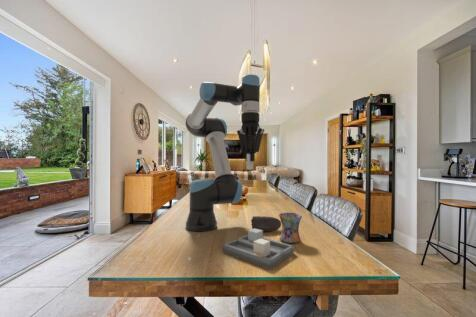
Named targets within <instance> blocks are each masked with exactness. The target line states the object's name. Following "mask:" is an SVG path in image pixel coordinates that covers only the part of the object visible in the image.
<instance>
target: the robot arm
mask: <svg viewBox="0 0 476 317" xmlns="http://www.w3.org/2000/svg"><path fill="white" fill-rule="evenodd" d="M260 82H261V81H260V77H259V76H258V75H256V74H244V75H243V76H242V78H241V82H240V83H241V84H240V85H239V86H238V85H237V86H236V85H230V84H223V83H216V82H212V81H209V82H208V81H203V82H201V84H200V86H199V87H200V88H199V100H198V101H197V103H196V104H195V107H194V108H193V110H192V112H191V113H189V114H188V115H187V116H186V119H185V127H186V130H187V131H188V133H189V134H192V135H193V136H195V137H198V138H204V139H205V142H207V143H208V144H209V150H210V154H211V159H212V164H213V168H214V174H215V178H210V177H209V178H201V179H195V180H193V181H191V182H190V185H189V191H188V192H189V212H188V215H187V219H186V221H185V229H186V230H188V231H191V232H206V231H207V232H208V231H213V230H215V229H216V228H217V227H218V221H217V219H216V214H215V211H214V208H215V206H214V205H225V204H235V203H238V202H240V201H241V198H242V196H243V183H242V182H241V180H239V179H237V178H236V175H235V174H233V172H232V169H231V166H230V161H229V157H228V156H229V155H228V153H227V149H226V146H225V139H226V136H227V134H228V125H227V122H226V121H225V120H224V119H222V118H218V117H215V118H213V117H209V115H210V113H211V112H212V111H213V110H214V107H215V106H216V105H217V104H218V103H228V104H231V105H232V106H235V107H236V106H237V107H238V106H241V116H240V117H241V119H240V120H241V126H240V127H241V128H240V129H239V130H237V131H236V133H237V135H238V138H239V145H240V150H241V153H244V154H245V158H244V159H245V160H244V161H245V162H246V170H254V162H255V160H256V159H255V157H256V156H255V154H256V153H259V151H260V148H261V143H262V138H263V134H264V133H265V129H264V128H262V127H260V96H261V95H260V90H261V88H260V87H261V85H260Z"/></svg>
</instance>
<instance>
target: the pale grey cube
mask: <svg viewBox="0 0 476 317" xmlns="http://www.w3.org/2000/svg"><path fill="white" fill-rule="evenodd" d="M263 234H264V231H263V230H259V229H255V228H254V229H252V228H251V229H249V230H247V235H248V241H251V242H253V241H256V240H258V239H260V238H261V239H263V238H264V236H263Z"/></svg>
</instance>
